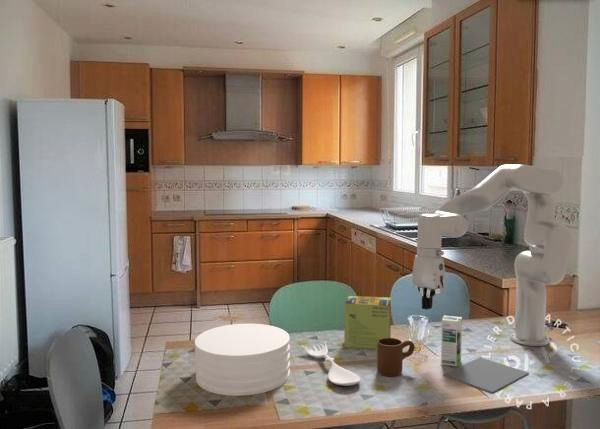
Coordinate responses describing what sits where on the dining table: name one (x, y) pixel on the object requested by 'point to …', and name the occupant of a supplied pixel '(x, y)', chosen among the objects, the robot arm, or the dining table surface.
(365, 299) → the protein box
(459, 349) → the syrup box
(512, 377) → the rubber mat
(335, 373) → the spoon
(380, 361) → the mug
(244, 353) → the plate stack
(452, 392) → the dining table surface
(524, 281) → the robot arm
